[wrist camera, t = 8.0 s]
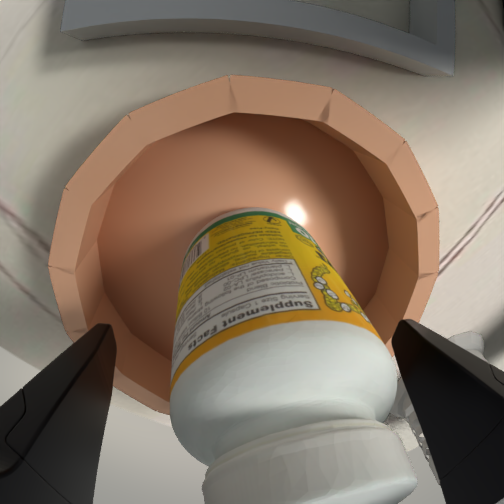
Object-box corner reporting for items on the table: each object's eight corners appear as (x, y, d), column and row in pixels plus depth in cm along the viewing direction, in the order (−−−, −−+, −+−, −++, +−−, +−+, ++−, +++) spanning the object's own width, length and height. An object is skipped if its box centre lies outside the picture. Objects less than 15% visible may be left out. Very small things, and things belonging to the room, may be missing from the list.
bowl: (420, 118, 11) (474, 129, 8) (353, 364, 17) (374, 408, 14) (77, 88, 9) (32, 87, 6) (111, 368, 15) (99, 417, 12)
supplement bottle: (162, 227, 11) (98, 506, 3) (305, 186, 11) (496, 403, 3) (207, 335, 14) (223, 555, 5) (324, 303, 14) (421, 502, 5)
